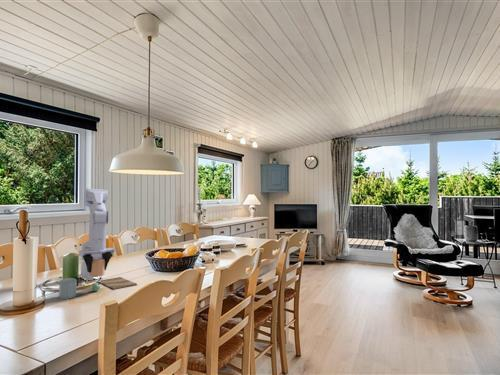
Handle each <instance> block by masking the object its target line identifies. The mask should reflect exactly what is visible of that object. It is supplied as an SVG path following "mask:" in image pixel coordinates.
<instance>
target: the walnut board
mask: <svg viewBox="0 0 500 375" xmlns="http://www.w3.org/2000/svg"><path fill="white" fill-rule="evenodd" d="M100 280H101V282H100V283H99V284H102V285H103V286H105V287H108V288H109V289H112V290H114V291H115V290H119V289H125V288H129V287H130V288H131V287H134V286H138V284H137V283H136V282H133V281H131V280H128V279H126V278H124V277H122V276H117V277H112V278H111V277H110V278H106V279H105V278H104V279H100Z"/></svg>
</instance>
